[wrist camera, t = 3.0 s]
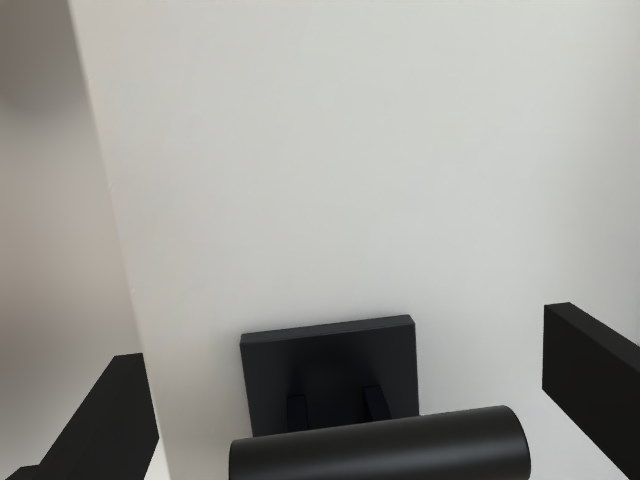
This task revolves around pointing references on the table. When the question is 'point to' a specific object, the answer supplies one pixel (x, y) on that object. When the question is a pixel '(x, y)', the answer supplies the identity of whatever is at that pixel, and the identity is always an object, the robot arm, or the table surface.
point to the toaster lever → (393, 450)
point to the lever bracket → (330, 375)
